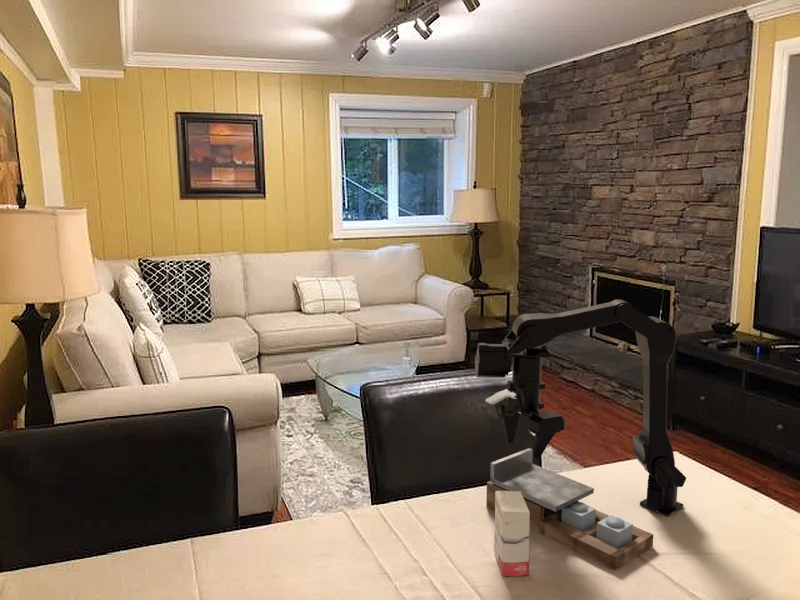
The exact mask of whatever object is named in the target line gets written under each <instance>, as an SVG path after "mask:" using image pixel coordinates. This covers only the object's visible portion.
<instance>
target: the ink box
mask: <svg viewBox="0 0 800 600" xmlns="http://www.w3.org/2000/svg"><path fill="white" fill-rule="evenodd" d="M529 524H530V512H529V510H528V507H527V505H526V503H525V500H524V498H523V496H522V494H521V491H496V492H495V510H494V536H493V537H494V539H493V540H494V543H493V545H494V546H493V550H494V554H495V557H496V559H497V563H498V566H499V569H500V572H501V575H502V576H503V577H524V576H529V575H530V528H529Z"/></svg>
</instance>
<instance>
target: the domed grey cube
mask: <svg viewBox="0 0 800 600" xmlns="http://www.w3.org/2000/svg"><path fill="white" fill-rule="evenodd" d="M633 526H634V525H633V523H631V522H629V521H626V520H623V518H620V517H617V516H614V515H609V517H607V518H605V519H603V520H601V521H599V522H597V533H596V539H599V540H601V541H603V542H605V543H607V544H609V545H611V546H613V547H616V548H618V549H620V548H622V547H623V546H625V545H627V544H628V543H630V542H632V528H633Z"/></svg>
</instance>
